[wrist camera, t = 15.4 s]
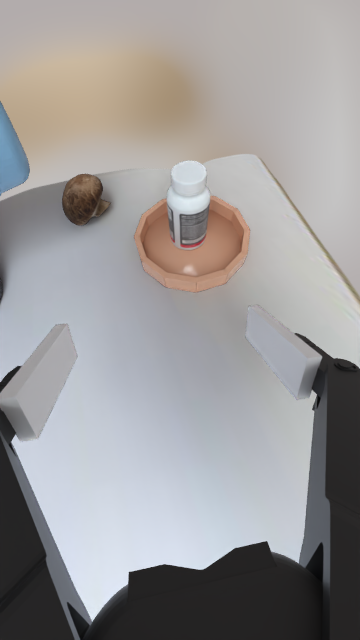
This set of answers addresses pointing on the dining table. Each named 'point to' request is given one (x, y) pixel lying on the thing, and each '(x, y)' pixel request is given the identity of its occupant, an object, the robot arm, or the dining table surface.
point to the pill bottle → (188, 205)
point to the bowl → (199, 264)
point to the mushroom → (83, 199)
